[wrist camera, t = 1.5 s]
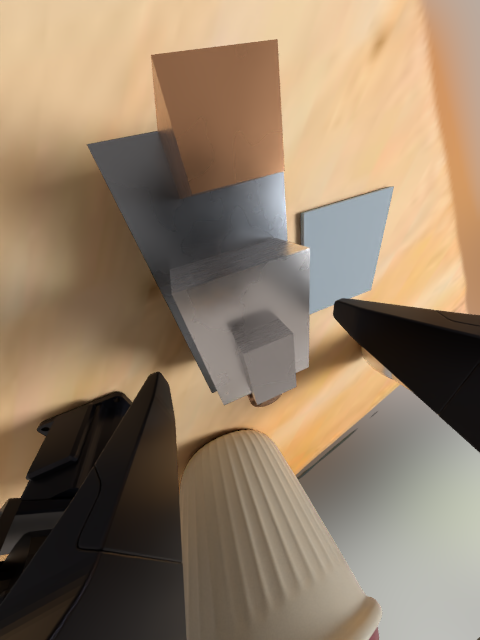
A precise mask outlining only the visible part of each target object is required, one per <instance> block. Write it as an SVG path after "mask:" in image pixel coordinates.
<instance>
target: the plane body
mask: <svg viewBox="0 0 480 640" xmlns="http://www.w3.org/2000/svg"><path fill="white" fill-rule="evenodd" d="M151 60H152V71H153V82H154V94H155V105H156V116H157V127H158V131H155V132H150V133H145V134H139V135H134V136H129V137H124V138H118V139H113V140H108V141H103V142H97V143H92V144H87V146H88V148H89V150H90V152H91V154H92V155H93V157H94V159H95V161H96V163H97V165H98V167H99V169H100V171H101V173H102V175H103V177H104V179H105V181H106V183H107V185H108V187H109V189H110V191H111V193H112V195H113V197H114V199H115V201H116V203H117V205H118V207H119V209H120V211H121V213H122V215H123V217H124V219H125V221H126V223H127V225H128V227H129V229H130V231H131V233H132V235H133V237H134V239H135V241H136V243H137V245H138V247H139V249H140V251H141V253H142V255H143V257H144V259H145V261H146V263H147V265H148V267H149V269H150V271H151V273H152V275H153V277H154V279H155V281H156V283H157V285H158V287H159V289H160V291H161V293H162V295H163V297H164V299H165V301H166V303H167V305H168V306H169V308H170V310H171V312H172V314H173V316H174V318H175V320H176V322H177V324H178V326H179V328H180V330H181V332H182V334H183V336H184V338H185V340H186V342H187V344H188V346H189V348H190V350H191V352H192V354H193V356H194V358H195V360H196V362H197V364H198V366H199V368H200V370H201V372H202V374H203V376H204V378H205V380H206V382H207V384H208V386H209V388H210V390H211V392H212V393H214V392H216V391H217V389H216V387H215V385H214V383H213V381H212V379H211V377H210V374H209V372H208V370H207V368H206V366H205V364H204V362H203V360H202V357H201V355H200V353H199V351H198V349H197V347H196V345H195V343H194V340H193V338H192V336H191V334H190V332H189V330H188V328H187V326H186V323H185V321H184V319H183V317H182V315H181V313H180V311H179V309H178V306H177V304H176V302H175V300H174V298H173V296H172V292H171V280H170V269H173V268H176V267H179V266H183V265H186V264H189V263H192V262H195V261H199V260H202V259H205V258H208V257H211V256H215V255H218V254H221V253H224V252H227V251H231V250H234V249H237V248H240V247H243V246H247V245H250V244H253V243H256V242H259V241H263V240H266V239H269V238H272V237H274V238H278V239H281V240H285V241H287V223H286V205H285V187H284V152H283V134H282V115H281V97H280V78H279V60H278V41H277V39H276V40H268V41H260V42H252V43H244V44H236V45H228V46H220V47H211V48H203V49H195V50H187V51H179V52H171V53H163V54H155V55H151ZM281 395H282V394H280V395H278V396H276V397H273V398H271V399H269V400H267V401H265V402H263V403H260V404H258V405H257V403H256V401H255V399H254V397H253V395H252V393H250V394H248V397H249V400H250V402H251V404H252V405H253V406H256V407H263V406H267V405H269V404H271V403H273V402H274V401H276V400H277V399H278V398H279V397H280V396H281Z"/></svg>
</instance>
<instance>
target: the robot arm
mask: <svg viewBox="0 0 480 640" xmlns="http://www.w3.org/2000/svg"><path fill="white" fill-rule="evenodd" d="M333 316H334V318H335V319H336V320H337V321H338V322H339V324H340V325H341V326H342V327H343V328H344V329H345V330H346V331H347V332H348V333H349V335H350V336H351V337H352V338H353V339H354V340H355V341H356V342H357V343H359V344H360V345H361V346H362V347H363V348H364V349H365V350H366V351H367V352H369V353H370V354H371V355H372V356H373V357H374V358H375V359H376V360H377V361H379V362H380V363H381V364H382V365H383V366H384V367H385V368H386V369H387V370H389V371H390V372H391V373H392V374H393V375H394V376H395V377H396V378H397V379H399V380H400V381H401V382H402V383H403V384H404V385H405V386H406V387H408V388H409V389H410V390H411V391H412V392H413V393H414V394H415V395H416V396H418V397H419V398H420V399H421V400H422V401H423V402H424V403H425V404H426V405H428V406H429V407H430V408H431V409H432V410H433V411H434V412H435V413H436V414H438V415H439V416H440V417H441V418H442V419H443V420H444V421H445V422H446V423H447V424H449V425H450V426H451V427H452V428H453V429H454V430H455V431H457V433H459V434H460V435H461V436H462V437H463V438H464V439H465V440H466V441H467V442H469V443H470V444H471V445H472V446H473V447H474V448H475V449H477V451H479V452H480V315H472V314H463V313H454V312H446V311H439V310H436V311H435V310H431V309H423V308H415V307H408V306H400V305H393V304H385V303H377V302H370V301H362V300H355V299H347V298H341V299H339V300H336V301H335V303H334V311H333ZM37 431H38V432H39V433H41V434H43V435H45V436H46V438H45V440H44V442H43V444H42V446H41V448H40V449H39V451H38V453H37V455H36V457H35V459H34V461H33V463H32V465H31V467H30V469H29V471H28V473H27V476H26V479H27V480H29V482H28V484H27V486H26V488H25V490H24V492H23V494H22V496H21V498H10V499H8V500H7V502H6V503H5V504H4V505H3V507H2V508H1V509H0V555H5V554H9V555H8V556H7V558H6V560H5V561H1V562H0V640H187V635H186V616H185V597H184V578H183V563H182V542H181V522H180V503H179V484H178V465H177V445H176V426H175V416H174V410H173V405H172V399H171V393H170V388H169V384H168V382H167V381H166V379H165V378H164V377H163V375H162V374H161V373H160V372H156V373H153V374H151V375H149V376H148V378H147V380H146V381H145V383H144V385H143V386H142V388H141V389H140V391H139V393H138V394H137V396H136V398H135V399H134V401H133V402H131V400H130V399H129V398H128V397H127V396H126V395H125V394H123V393H121V392H116V393H113V394H111V395H108V396H106V397H103V398H101V399H98V400H96V401H93V402H91V403H88V404H86V405H83V406H81V407H78V408H76V409H73V410H71V411H68V412H66V413H63V414H61V415H58V416H56V417H53V418H51V419H48V420H46V421H43V422H41V423H40V425H39V427H38V428H37ZM477 640H480V637H479V638H478V639H477Z"/></svg>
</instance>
